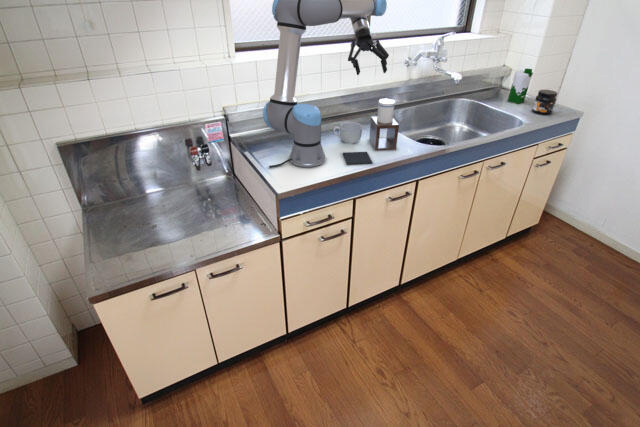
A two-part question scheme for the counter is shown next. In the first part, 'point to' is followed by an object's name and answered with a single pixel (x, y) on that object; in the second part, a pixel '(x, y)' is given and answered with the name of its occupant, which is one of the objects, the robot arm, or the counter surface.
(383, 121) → the cup
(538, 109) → the supplement container
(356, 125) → the teacup
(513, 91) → the milk carton
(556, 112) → the counter surface
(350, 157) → the mat
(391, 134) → the shelf
